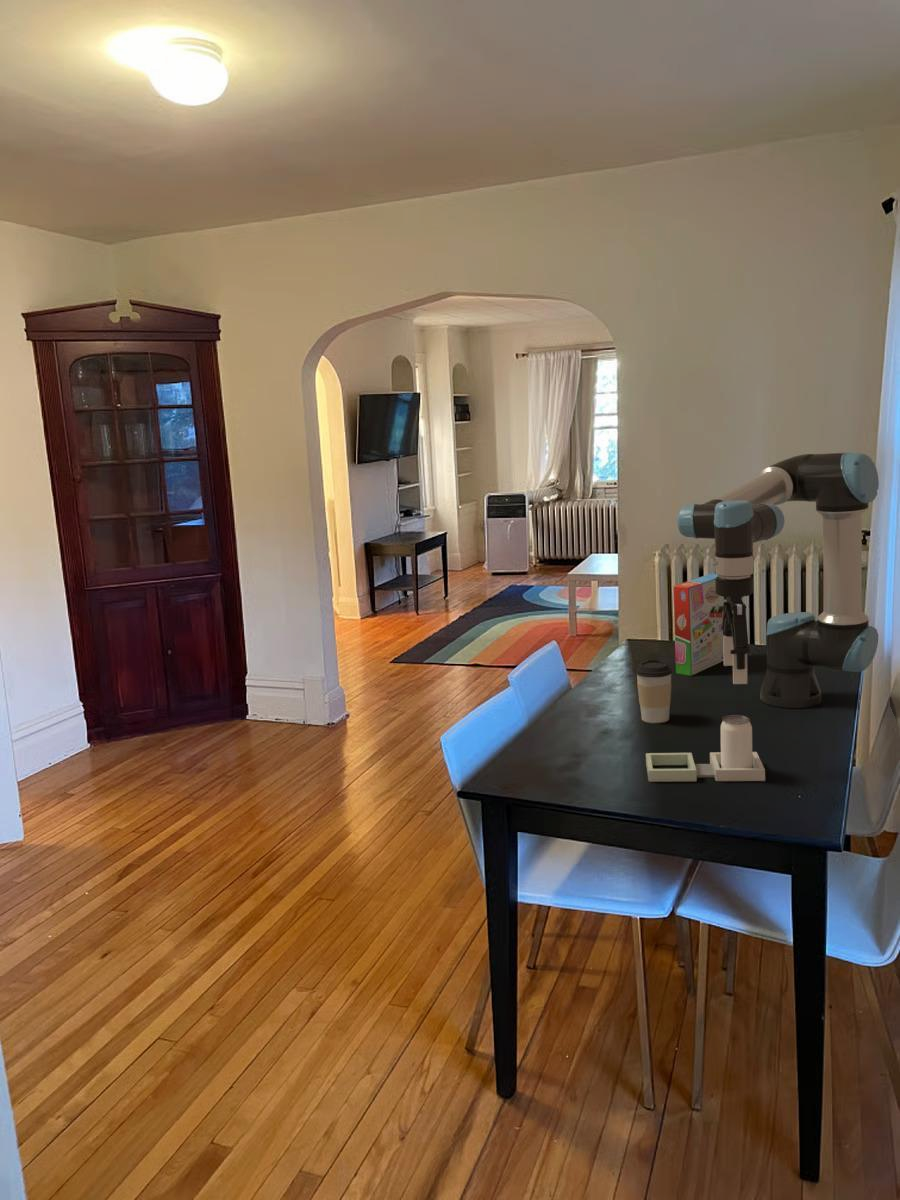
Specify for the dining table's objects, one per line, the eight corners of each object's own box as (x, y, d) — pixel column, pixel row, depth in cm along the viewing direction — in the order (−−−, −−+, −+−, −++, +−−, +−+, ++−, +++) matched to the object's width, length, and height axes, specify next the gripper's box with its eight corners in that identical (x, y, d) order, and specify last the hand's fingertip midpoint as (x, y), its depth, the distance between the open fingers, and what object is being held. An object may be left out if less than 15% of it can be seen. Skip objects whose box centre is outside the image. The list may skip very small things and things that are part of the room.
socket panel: (756, 762, 195) (756, 751, 194) (765, 780, 185) (765, 769, 184) (646, 763, 199) (645, 753, 198) (648, 781, 189) (648, 770, 188)
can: (735, 780, 186) (734, 726, 184) (714, 770, 192) (713, 718, 190) (759, 773, 189) (758, 720, 187) (738, 763, 195) (737, 712, 192)
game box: (712, 657, 277) (710, 573, 272) (728, 660, 273) (726, 574, 268) (675, 673, 264) (672, 585, 258) (691, 676, 260) (688, 586, 254)
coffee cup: (674, 724, 222) (672, 667, 219) (637, 724, 224) (635, 668, 221) (672, 712, 230) (670, 657, 227) (637, 712, 232) (635, 658, 229)
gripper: (707, 566, 195) (709, 658, 199) (723, 587, 171) (725, 692, 175) (743, 565, 193) (743, 657, 198) (764, 586, 169) (764, 691, 173)
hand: (735, 674), depth 186 cm, fingers open, 13 cm apart
